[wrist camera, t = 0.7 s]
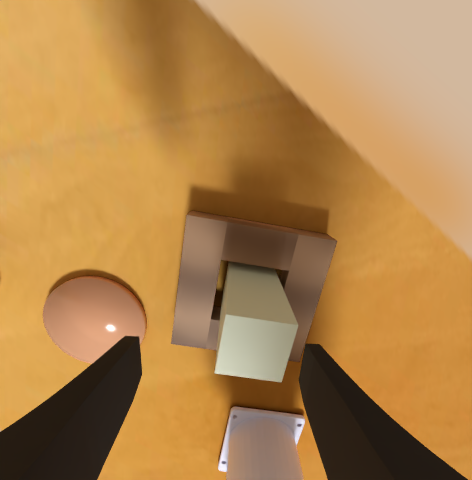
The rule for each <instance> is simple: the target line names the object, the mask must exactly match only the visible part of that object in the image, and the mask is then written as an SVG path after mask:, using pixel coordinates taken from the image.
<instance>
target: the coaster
mask: <svg viewBox="0 0 472 480" xmlns="http://www.w3.org/2000/svg"><path fill="white" fill-rule="evenodd" d="M43 321H44V325H45V328H46V331H47V333H48V335H49V336H50V338H51V339H52V341H53V342H54V343H55V344H56V345H57V346H58V347H59V348H60V349H61V350H62V351H64V352H65V353H67V354H68V355H70V356H72V357H73V358H75V359H78V360H80V361H83V362H87V363H92V364H93V363H94V362H95V361H96V360H97V359H98V358H100V357H101V356H102V355H103V354H104V353H105V352H107V351H108V350H109V349H110V348H111V347H112V346H114V345H115V344H116V343H117V342H118V341H119V340H121V339H122V338H123V337H124V336H139V339H140V344H141V342H142V340H143V338H144V336H145V333H146V328H147V321H146V315H145V312H144V309H143V307H142V305H141V304H140V302H139V300H138V299H137V298H136V297H135V295H134V294H133V293H131V292H130V291H129V290H128V289H127V288H125V287H124V286H122V285H121V284H119V283H117V282H115V281H113V280H110V279H107V278H103V277H99V276H81V277H76V278H73V279H70V280H68V281H66V282H65V283H63V284H61V285H60V286H58V287H57V288H56V289H54V290H53V291H52V292H51V294H50V295H49V296H48V298H47V300H46V302H45V305H44V309H43Z"/></svg>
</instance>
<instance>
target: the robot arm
mask: <svg viewBox="0 0 472 480" xmlns="http://www.w3.org/2000/svg"><path fill="white" fill-rule="evenodd" d="M141 376H142V366H141V353H140V339H139V336H124V337H123V338H122V339H121V340H119V341H118V342H117V343H116V344H115V345H114V346H112V347H111V348H110V349H109V350H108V351H107V352H105V353H104V354H103V355H102V356H101V357H100V358H98V359H97V360H96V361H95V362H94V363H93V364H91V365H90V366H89V367H88V368H87V369H85V370H84V371H83V372H82V373H81V374H79V375H78V376H77V377H76V378H74V379H73V380H72V381H71V382H69V383H68V384H67V385H66V386H64V387H63V388H62V389H60V390H59V391H58V392H57V393H55V394H54V395H53V396H51V397H50V398H49V399H47V400H46V401H45V402H43V403H42V404H41V405H39V406H38V407H36V408H35V409H34V410H32V411H31V412H29V413H28V414H26V415H25V416H23V417H22V418H21V419H19V420H18V421H16V422H15V423H13V424H12V425H10V426H9V427H7V428H6V429H4V430H3V431H1V432H0V480H97V479H98V477H99V474H100V472H101V470H102V467H103V465H104V463H105V461H106V459H107V456H108V454H109V452H110V450H111V448H112V446H113V443H114V441H115V439H116V437H117V435H118V433H119V430H120V428H121V426H122V424H123V422H124V419H125V417H126V415H127V413H128V411H129V408H130V406H131V404H132V402H133V399H134V396H135V394H136V391H137V388H138V385H139V382H140V379H141ZM299 384H300V389H301V394H302V398H303V403H304V407H305V410H306V413H307V416H308V420H309V423H310V426H311V429H312V432H313V435H314V438H315V441H316V444H317V447H318V450H319V453H320V456H321V459H322V463H323V466H324V469H325V472H326V475H327V478H328V480H468V479H466V478H465V477H464V476H462V475H461V474H460V473H458V472H457V471H456V470H454V469H453V468H452V467H451V466H449V465H448V464H447V463H445V462H444V461H443V460H442V459H440V458H439V457H438V456H436V455H435V454H434V453H433V452H431V451H430V450H429V449H428V448H426V447H425V446H424V445H423V444H421V443H420V442H419V441H418V440H417V439H415V438H414V437H413V436H412V435H411V434H410V433H408V432H407V431H406V430H405V429H404V428H403V427H401V426H400V425H399V424H398V423H397V422H396V421H394V420H393V419H392V418H391V417H390V416H389V415H388V414H387V413H386V412H385V411H384V410H382V409H381V408H380V407H379V406H378V405H377V404H376V403H375V402H374V401H373V400H372V399H371V398H370V397H369V396H368V395H367V394H366V393H365V392H364V391H363V390H362V389H361V388H360V387H359V386H358V385H357V384H356V383H355V382H354V381H353V380H352V379H351V378H350V377H349V376H348V375H347V374H346V373H345V372H344V371H343V369H342V368H341V367H340V366H339V365H338V364H337V363H336V362H335V361H334V360H333V359H332V357H331V356H330V355H329V354H328V353H327V352H326V351H325V350H324V349H323V348H322V347H321V346H320V345H319V344H305V349H304V355H303V360H302V365H301V371H300V376H299ZM304 423H305V419H304V416H302V415H297V414H290V413H282V412H274V411H266V410H259V409H251V408H243V407H232V408H231V411H230V415H229V419H228V424H227V428H226V433H225V437H224V441H223V446H222V450H221V454H220V459H219V463H218V469H219V470H220V471H224V472H227V475H226V480H304V478H303V473H302V469H301V465H300V460H299V456H298V451H297V447H296V446H297V443H298V440H299V437H300V435H301V432H302V429H303V426H304Z"/></svg>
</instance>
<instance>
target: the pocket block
mask: <svg viewBox="0 0 472 480" xmlns="http://www.w3.org/2000/svg"><path fill="white" fill-rule="evenodd" d="M336 244H337V241H336V240H335V239H333V238H332V237H330V236H329V235H328V234H323V233H317V232H311V231H306V230H300V229H294V228H289V227H283V226H277V225H271V224H266V223H260V222H254V221H249V220H243V219H237V218H231V217H226V216H220V215H214V214H209V213H203V212H197V211H191V212H189V213H188V214H187V217H186V225H185V234H184V242H183V250H182V258H181V267H180V275H179V283H178V292H177V300H176V308H175V316H174V325H173V333H172V341H171V344H176V345H183V346H190V347H197V348H204V349H211V350H217V343H218V333H219V322H220V312H221V307H216V306H213V303H214V298H215V292H216V286H217V280H218V274H219V268H220V263H221V260H226V261H232V262H238V263H244V264H250V265H256V266H263V267H269V268H275V269H281V270H282V271H281V275H280V279H279V280H280V282H281V285H282V287H283V290H284V292H285V294H286V297H287V299H288V301H289V304H290V306H291V309H292V311H293V313H294V316H295V318H296V321H297V323H298V329H297V332H296V335H295V339H294V342H293V346H292V349H291V352H290V356H289V359H288V361H296V362H300V358H301V355H302V352H303V349H304V346H305V342H306V339H307V336H308V333H309V330H310V327H311V323H312V320H313V317H314V314H315V311H316V307H317V304H318V301H319V298H320V295H321V292H322V288H323V285H324V282H325V279H326V276H327V272H328V269H329V266H330V263H331V260H332V256H333V253H334V250H335V247H336Z"/></svg>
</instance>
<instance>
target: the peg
mask: <svg viewBox="0 0 472 480" xmlns="http://www.w3.org/2000/svg"><path fill="white" fill-rule="evenodd" d="M297 329H298V323H297V321H296V318H295V316H294V313H293V311H292V309H291V306H290V304H289V301H288V299H287V297H286V294H285V292H284V290H283V287H282V285H281V282H280V280H279V278H278V275H277V273H276V270H275V268H269V267H263V266H256V265H250V264H244V263H238V262H232V261H229V263H228V268H227V274H226V279H225V285H224V290H223V296H222V302H221V312H220V322H219V333H218V343H217V353H216V363H215V373H216V374H223V375H230V376H238V377H245V378H252V379H260V380H267V381H274V382H282V379H283V376H284V372H285V369H286V366H287V362H288V359H289V356H290V352H291V349H292V346H293V342H294V339H295V335H296V332H297Z"/></svg>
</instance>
